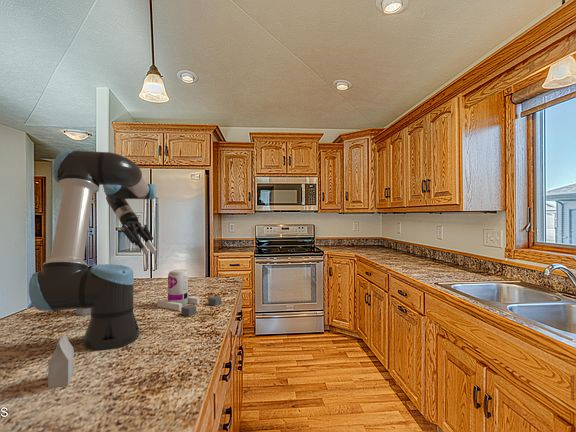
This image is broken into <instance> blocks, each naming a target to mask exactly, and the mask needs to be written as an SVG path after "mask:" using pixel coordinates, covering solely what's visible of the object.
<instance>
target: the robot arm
mask: <svg viewBox="0 0 576 432" xmlns="http://www.w3.org/2000/svg"><path fill="white" fill-rule="evenodd" d="M52 170H53V172H52V175H53V178H54V181H55V182H56V183H57V185H58V186H59V188H60V189H62V192H61V198H60V204H59V209H58V215H57V219H56V225H55V229H54V230H55V231H54V237H53V241H52V246H51V253H50V257H49V260H47V261H45V262H43V264H42V267H41V270H38V271H35V272H34V273H33V274H31V277H30V279H29V283H28V295H29V296H28V297H29V300H30V303H31V304H32V306H33V307H34V308H35V309H36V310H37V311H42V312H47V311H48V312H57V311H68V310H77V309H85V308H91V315H90V320H89V321H88V325H87V328H86V331H85V334H84V336H83V347H85V348H86V349H91V350H109V349H114V348H119V347H120V348H121V347H123V346H126V345H128V344H131V343H133V342H135V341H136V340H137V339H138V338H139V337H140V327H139V325H138V322H137V319H136V316H135V313H134V294H135V293H134V287H135V286H134V284H135V281H134V280H135V279H134V271H133V269H132V268H131V267H129V266H126V265H121V264H111V263H110V264H109V263H105V264H95V265H92V266H91V267H90V268H91V270H88V268H89V264H87V263H86V262H85V260H84V259H85V253H86V245H87V238H88V232H89V231H88V230H89V225H90V217H91V210H92V203H93V197H94V194H96V193H98V192H99V190H100V186H101V185H102V188H103V192H104V195H105V200H106V202H107V204H108V205H109V207H110V208H111V209H112V211H113V212H114V214H115V216H116V217H117V219H118V220H119V222H120V224H121V225H122V226H121V227H120V229H119V230H120V231H121V232H123V233H124V235H125V236H126V237H127V239H128V240H129V242H130V243H131V244H134V246H137V247H138V248H139V249H140V250H141V251H142V253H143V255H144V256H147V255H148V253H149V252H150V253H151V254H152V255H155V253H156V251H157V248H156V247H155V246H154V245H155V244H154V243H153V242H152V241H153V240H154V237H153V235H152V233H151V232H150V230H149V228H148V225H147V224H144V225H143V224H142V223H141V222H139V218H138V216H137V215H136V213H135V211H134V210H133V208H132V207H131V206H130V204H129V203H128V202H127V200H147V201H148V200H155V199H156V195H157V189H156V185H155V184H154V183H153V184H152V183H147V181H146V180H145V179H144V177H143V173H142V170H141V167H139V166H138V164H137V163H135V162H134V161H133V160H131V159H129V158H127V156H123V155H121V154H119V153H114V152H111V151H109V152H108V151H90V150H86V151H85V150H79V149H73V150H71V149H70V150H67V149H66V150H62V151H60V152H58V154H57V155H56V157H55V158H54V161H53V165H52ZM140 237H141V238H142V240H141V238H140Z"/></svg>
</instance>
